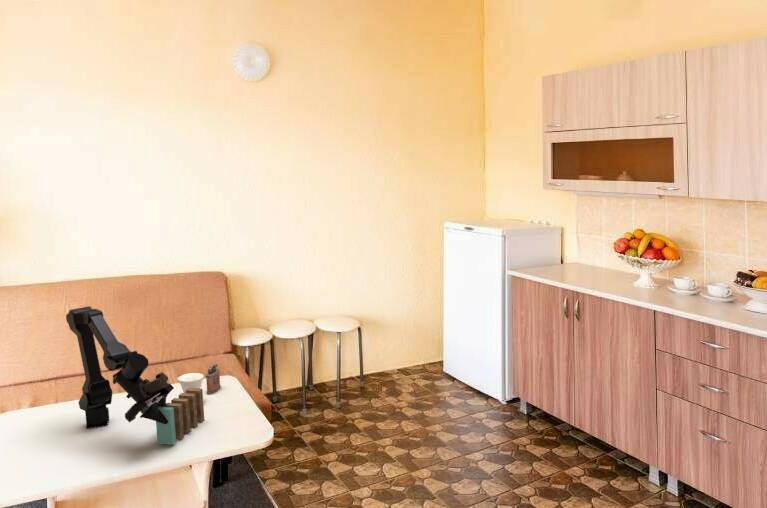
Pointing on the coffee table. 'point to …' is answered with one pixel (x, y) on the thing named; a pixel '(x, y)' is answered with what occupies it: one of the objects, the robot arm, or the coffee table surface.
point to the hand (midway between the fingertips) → (169, 421)
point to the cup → (190, 381)
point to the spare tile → (166, 427)
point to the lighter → (213, 379)
